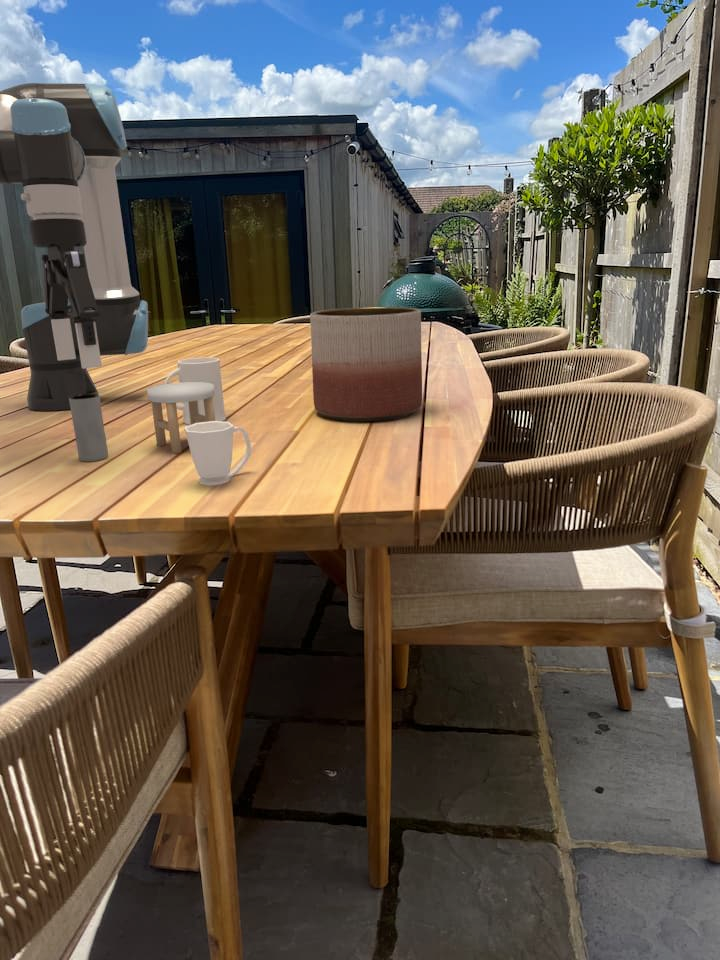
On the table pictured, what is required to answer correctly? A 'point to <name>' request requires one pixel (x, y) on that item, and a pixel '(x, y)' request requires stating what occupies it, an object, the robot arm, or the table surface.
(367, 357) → the planter
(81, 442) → the grey tube
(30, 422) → the table surface
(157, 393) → the stool
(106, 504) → the table surface
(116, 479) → the table surface
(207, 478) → the cup
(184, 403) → the white ceramic jug
